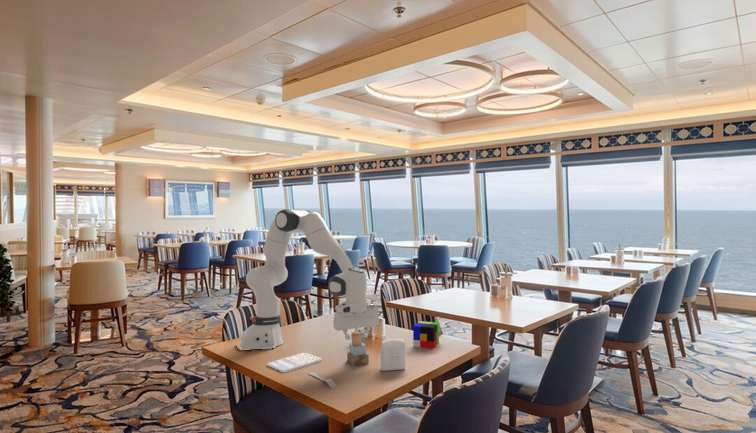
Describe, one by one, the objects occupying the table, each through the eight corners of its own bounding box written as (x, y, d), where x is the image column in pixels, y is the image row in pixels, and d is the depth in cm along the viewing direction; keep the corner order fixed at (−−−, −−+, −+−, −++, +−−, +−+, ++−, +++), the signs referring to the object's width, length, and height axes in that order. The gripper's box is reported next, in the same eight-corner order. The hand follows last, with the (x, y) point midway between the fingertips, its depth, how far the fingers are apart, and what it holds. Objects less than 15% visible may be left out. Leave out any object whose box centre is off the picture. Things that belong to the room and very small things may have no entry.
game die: (363, 350, 215) (374, 333, 218) (360, 349, 207) (372, 331, 210) (348, 340, 218) (359, 323, 220) (345, 339, 210) (357, 321, 212)
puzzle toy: (413, 346, 209) (413, 325, 209) (419, 341, 218) (419, 321, 218) (433, 349, 205) (433, 327, 205) (438, 343, 214) (438, 322, 214)
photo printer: (403, 366, 182) (403, 336, 182) (406, 369, 178) (406, 339, 178) (379, 368, 180) (379, 338, 180) (382, 372, 176) (381, 341, 175)
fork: (313, 378, 176) (312, 371, 177) (339, 389, 160) (338, 381, 160) (307, 380, 175) (306, 373, 175) (332, 391, 158) (331, 383, 158)
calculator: (322, 362, 190) (322, 357, 190) (283, 374, 175) (283, 369, 175) (304, 355, 199) (304, 351, 199) (265, 366, 185) (265, 362, 185)
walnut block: (353, 366, 183) (353, 357, 183) (347, 361, 189) (347, 352, 189) (368, 364, 186) (368, 354, 186) (362, 359, 192) (361, 350, 192)
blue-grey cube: (354, 356, 184) (354, 346, 184) (349, 352, 189) (349, 343, 189) (366, 354, 186) (366, 345, 186) (361, 350, 192) (361, 341, 191)
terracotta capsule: (354, 346, 184) (354, 335, 184) (349, 344, 188) (349, 332, 188) (364, 345, 186) (363, 333, 186) (359, 342, 190) (359, 331, 190)
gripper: (375, 302, 194) (375, 333, 194) (331, 306, 185) (332, 339, 185) (381, 304, 189) (381, 336, 189) (337, 309, 180) (337, 343, 180)
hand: (356, 338), depth 187 cm, fingers open, 7 cm apart
